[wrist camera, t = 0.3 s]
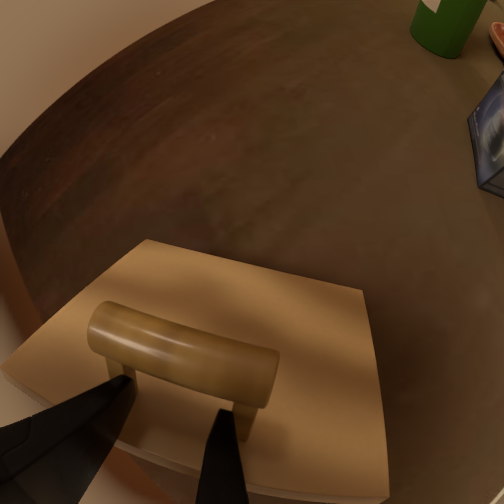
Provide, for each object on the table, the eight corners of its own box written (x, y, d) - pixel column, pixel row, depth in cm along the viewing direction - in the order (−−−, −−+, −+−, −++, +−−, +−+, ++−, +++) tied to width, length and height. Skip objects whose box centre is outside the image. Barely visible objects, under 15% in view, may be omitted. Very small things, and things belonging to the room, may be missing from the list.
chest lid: (378, 504, 7) (463, 436, 5) (5, 379, 8) (-34, 284, 6) (358, 300, 19) (381, 234, 17) (145, 249, 20) (148, 184, 18)
